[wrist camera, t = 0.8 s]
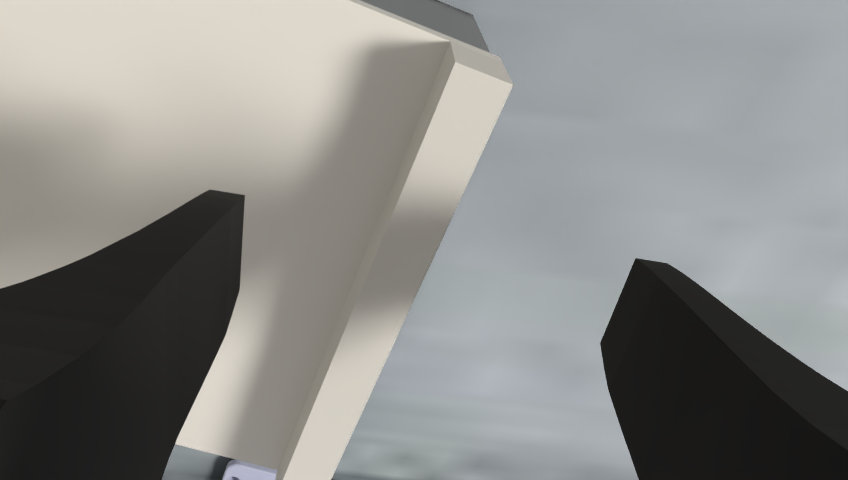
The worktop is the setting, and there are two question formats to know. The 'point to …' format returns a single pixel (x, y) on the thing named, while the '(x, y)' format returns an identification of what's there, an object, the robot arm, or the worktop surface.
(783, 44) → the worktop surface
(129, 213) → the cover
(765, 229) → the worktop surface
